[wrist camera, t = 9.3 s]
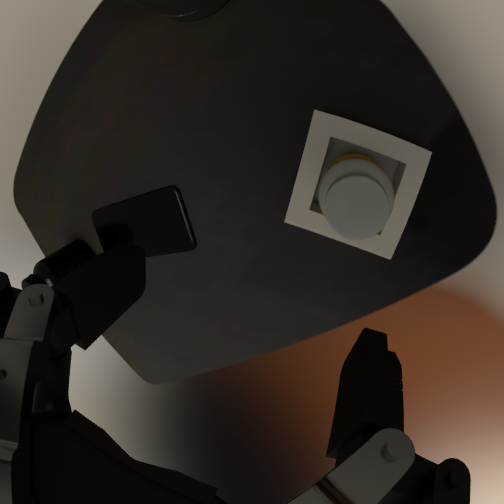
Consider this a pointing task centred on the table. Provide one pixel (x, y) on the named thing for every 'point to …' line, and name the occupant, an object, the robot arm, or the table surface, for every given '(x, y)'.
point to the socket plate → (377, 147)
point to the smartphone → (147, 223)
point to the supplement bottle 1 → (59, 264)
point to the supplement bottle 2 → (356, 196)
